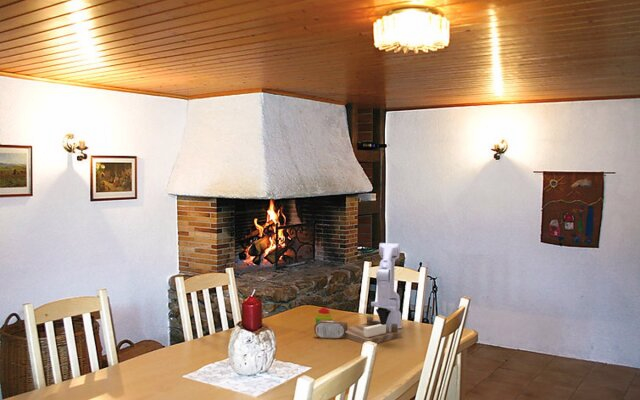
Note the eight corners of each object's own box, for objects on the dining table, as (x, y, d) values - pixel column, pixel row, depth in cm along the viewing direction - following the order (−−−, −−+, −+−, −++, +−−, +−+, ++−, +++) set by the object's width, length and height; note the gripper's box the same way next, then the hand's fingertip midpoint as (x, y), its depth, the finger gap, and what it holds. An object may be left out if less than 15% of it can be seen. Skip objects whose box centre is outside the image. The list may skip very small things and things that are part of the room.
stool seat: (369, 327, 299) (369, 315, 299) (401, 337, 282) (401, 324, 282) (336, 334, 285) (337, 322, 285) (368, 345, 268) (368, 332, 268)
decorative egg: (312, 327, 298) (312, 308, 298) (321, 324, 305) (321, 305, 305) (326, 330, 294) (326, 310, 293) (334, 326, 301) (334, 307, 300)
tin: (345, 337, 281) (346, 320, 280) (345, 339, 278) (345, 322, 277) (314, 336, 282) (314, 319, 282) (313, 338, 279) (313, 321, 279)
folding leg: (385, 330, 283) (385, 322, 283) (390, 332, 280) (390, 323, 280) (363, 335, 274) (363, 327, 273) (368, 337, 271) (368, 328, 271)
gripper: (366, 293, 273) (366, 322, 273) (388, 298, 261) (388, 329, 262) (377, 291, 277) (377, 320, 278) (399, 296, 266) (399, 326, 266)
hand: (383, 324), depth 270 cm, fingers closed
